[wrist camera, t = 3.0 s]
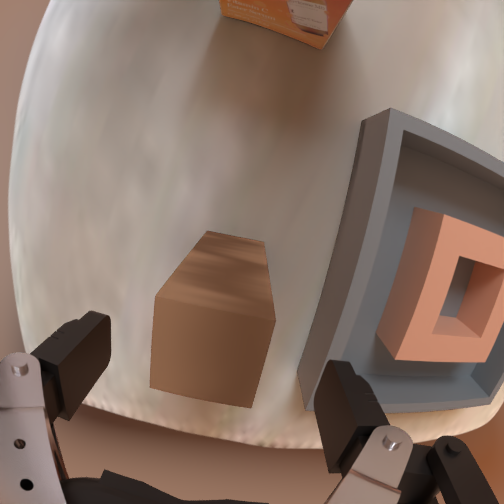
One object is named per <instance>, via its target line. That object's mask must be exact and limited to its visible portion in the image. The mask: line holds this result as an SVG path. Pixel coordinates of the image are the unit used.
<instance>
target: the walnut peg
mask: <svg viewBox="0 0 504 504" xmlns="http://www.w3.org/2000/svg"><path fill="white" fill-rule="evenodd" d="M275 322H276V318H275V311H274V304H273V298H272V291H271V285H270V278H269V272H268V265H267V259H266V252H265V246H264V242H261V241H256V240H251V239H246V238H241V237H236V236H231V235H226V234H221V233H216V232H211V231H207V232H206V233H205V234H204V235H203V237H202V238H201V239H200V240H199V242H198V243H197V244H196V245H195V246H194V248H193V249H192V250H191V251H190V253H189V254H188V255H187V256H186V258H185V259H184V260H183V261H182V263H181V264H180V265H179V266H178V268H177V269H176V270H175V271H174V273H173V274H172V275H171V276H170V278H169V279H168V280H167V282H166V283H165V284H164V285H163V287H162V288H161V289H160V291H159V292H158V293H157V294H156V296H155V305H154V317H153V330H152V346H151V366H150V388H153V389H157V390H161V391H165V392H169V393H173V394H177V395H182V396H186V397H191V398H195V399H200V400H205V401H210V402H216V403H221V404H227V405H233V406H239V407H245V408H252V404H253V401H254V398H255V394H256V391H257V387H258V384H259V380H260V377H261V373H262V370H263V366H264V362H265V359H266V355H267V352H268V348H269V344H270V341H271V337H272V333H273V329H274V326H275Z"/></svg>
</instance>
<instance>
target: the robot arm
mask: <svg viewBox="0 0 504 504" xmlns="http://www.w3.org/2000/svg"><path fill="white" fill-rule="evenodd" d="M110 357H111V319H110V317H109V316H108V315H105V314H102V313H98V312H95V311H89V312H88V313H86V314H85V315H84V316H83V317H82V318H81V319H80V320H77V319H75V320H72V321H70V322H67V323H65V324H63V325H62V326H61V327H60V328H59V329H58V330H57V332H56V331H55V332H54V333H53V334H52V335H51V337H48V338H47V339H46V340H45V341H44V342H43V343H42V344H40V345H39V346H38V347H37V348H36V349H35V350H34V351H33V352H31V353H30V354H27V353H12V354H9V355H7V356H6V357H4V358H3V359H2V361H1V362H0V504H269V503H258V502H245V501H237V500H229V499H226V500H206V501H205V500H203V501H186V500H181V499H178V498H176V497H173V496H171V495H169V494H167V493H165V492H162V491H160V490H158V489H156V488H154V487H152V486H150V485H148V484H146V483H144V482H142V481H138V480H135V479H132V478H128V477H125V476H122V475H119V474H116V473H113V472H110V471H108V470H104V471H103V474H102V476H101V478H88V477H82V478H70V479H69V476H68V474H67V471H66V468H65V464H64V461H63V457H62V454H61V450H60V446H59V442H58V437H57V433H56V429H55V425H54V421H55V419H56V418H57V417H61V418H63V419H65V420H68V421H70V419H71V418H72V416H73V415H74V413H75V412H76V410H77V409H78V407H79V406H80V404H81V403H82V402H83V400H84V399H85V397H86V396H87V394H88V393H89V392H90V390H91V389H92V387H93V386H94V384H95V383H96V382H97V380H98V379H99V377H100V376H101V375H102V373H103V372H104V370H105V369H106V368H107V366H108V364H109V361H110ZM377 401H378V400H377V398H376V396H375V395H374V392H373V390H372V388H371V386H370V384H369V383H368V382H367V381H366V380H365V379H364V378H363V377H362V376H360V375H356V373H355V371H354V369H353V367H352V365H351V363H350V362H349V361H340V360H329V361H328V362H327V364H326V366H325V369H324V371H323V374H322V376H321V379H320V382H319V384H318V387H317V389H316V392H315V395H314V411H315V415H316V419H317V424H318V428H319V432H320V436H321V441H322V445H323V449H324V454H325V458H326V462H327V467H328V471H329V473H341V474H342V479H341V481H340V482H339V483H338V485H337V486H336V488H335V489H334V491H333V492H332V493H331V495H330V496H329V497H328V499H327V500H326V502H325V503H324V504H439V503H438V501H437V499H436V495H437V494H438V493H439V492H440V491H441V493H442V496H443V498H444V501H445V503H446V504H499V503H498V501H497V499H496V497H495V495H494V493H493V491H492V489H491V487H490V486H489V484H488V482H487V480H486V479H485V476H484V475H483V473H482V471H481V469H480V468H479V466H478V464H477V462H476V461H475V459H474V457H473V455H472V454H471V452H470V451H469V449H468V447H467V446H466V444H465V443H464V442H463V441H461V440H460V439H458V438H456V437H453V436H442V437H440V438H438V439H437V440H436V442H435V443H434V445H433V446H432V447H431V446H424V445H417V444H413V442H412V439H411V437H410V436H409V435H408V434H407V433H406V432H405V431H403V430H402V429H400V428H398V427H395V426H390V424H389V422H388V420H387V418H386V416H385V414H384V412H383V410H382V408H381V406H380V404H379V402H377Z"/></svg>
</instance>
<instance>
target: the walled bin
mask: <svg viewBox="0 0 504 504" xmlns="http://www.w3.org/2000/svg"><path fill="white" fill-rule="evenodd" d="M329 360H340V361H349V362H350V363H351V365H352V367H353V369H354V371H355V373H356V375H360V376H362V377H363V378H364V379H365V380H366V381H367V382H368V383H369V384H370V386H371V388H372V390H373V392H374V395H375V396H376V398H377V400H378V401H377V402H379V404H380V406H381V408H382V410H383V412H384V413H410V412H427V411H440V410H451V409H460V408H468V407H475V406H482V405H489V404H491V402H492V400H493V399H494V397H495V395H496V394H497V392H498V390H499V389H500V387H501V385H502V383H503V382H504V163H503V162H502V161H500V160H498V159H497V158H495V157H493V156H492V155H490V154H488V153H486V152H485V151H483V150H481V149H479V148H477V147H475V146H474V145H472V144H470V143H468V142H466V141H464V140H462V139H460V138H458V137H456V136H454V135H452V134H450V133H448V132H446V131H444V130H442V129H440V128H438V127H435V126H433V125H431V124H429V123H427V122H424V121H422V120H420V119H417V118H415V117H413V116H410V115H408V114H405V113H403V112H400V111H398V110H395V109H393V108H389V109H387V110H385V111H382V112H380V113H378V114H376V115H374V116H371V117H369V118H367V119H365V120H363V121H362V123H361V128H360V134H359V139H358V145H357V150H356V155H355V160H354V165H353V170H352V174H351V179H350V184H349V188H348V193H347V197H346V202H345V206H344V210H343V215H342V219H341V223H340V227H339V231H338V235H337V239H336V243H335V247H334V251H333V254H332V258H331V262H330V266H329V269H328V273H327V276H326V280H325V284H324V287H323V291H322V294H321V297H320V301H319V304H318V308H317V311H316V314H315V317H314V321H313V324H312V327H311V330H310V333H309V336H308V340H307V343H306V346H305V349H304V352H303V355H302V358H301V361H300V364H299V367H298V370H297V373H298V377H299V382H300V387H301V392H302V397H303V402H304V407H305V410H306V411H314V395H315V392H316V389H317V387H318V384H319V382H320V379H321V376H322V374H323V371H324V369H325V366H326V364H327V362H328V361H329Z"/></svg>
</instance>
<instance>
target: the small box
mask: <svg viewBox="0 0 504 504" xmlns="http://www.w3.org/2000/svg"><path fill="white" fill-rule="evenodd" d="M352 1H353V0H219V3H220V9H221V14H222V15H223V16H227V17H231V18H235V19H239V20H243V21H246V22H250V23H253V24H256V25H259V26H262V27H265V28H268V29H270V30H273V31H276V32H279V33H281V34H284V35H287V36H289V37H292V38H294V39H297V40H299V41H301V42H304V43H306V44H309V45H310V46H313V47H315V48H317V49H320V50H321V49H323V48H324V47H325V45H326V43H327V42H328V40H329V39H330V37H331V36H332V34H333V32H334V30H335V29H336V27H337V25H338V24H339V22H340V21H341V19H342V18H343V16H344V15H345V13H346V12H347V10H348V8H349V6H350V5H351V3H352Z"/></svg>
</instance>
